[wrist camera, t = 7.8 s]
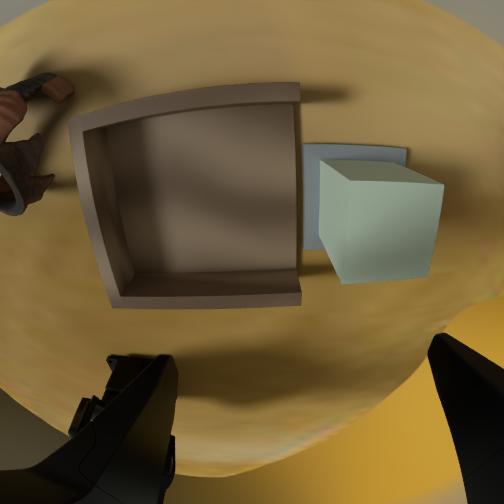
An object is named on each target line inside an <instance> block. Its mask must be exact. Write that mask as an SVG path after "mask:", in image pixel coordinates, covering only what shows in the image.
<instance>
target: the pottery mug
mask: <svg viewBox="0 0 504 504" xmlns="http://www.w3.org/2000/svg"><path fill="white" fill-rule="evenodd" d="M38 91H42V92H43V93H45V94H46V95H47V96H49V97H50V98H51V99H52V100H53V101H54V102H55V103H56V104H60V103H61V102H62V101H63V100H65V98H66V97H67V96H70V95H71V94H73V93H74V88H73V87H72V86H71V84H70V83H69V82H67V81H66V80H65V79H63V78H62V77H60V76H57V75H56V74H52V73H42V74H39V75H37V76H35V77H32V78H29V79H26V80H24V81H20V82H18V83H16V84H14V85H11V86H8V87H7V88H5V89H4V88H1V87H0V173H1V176H0V211H1V212H2V213H5V214H7V215H11V216H17V215H21V214H23V212H24V211H25V210H26V208H27V206H28V204H31V203H34V202H36V201H38V200H41V198H42V196H43V193H44V192H45V190H46V189H47V187H48V186H49V185H50V184H51V182H52V181H53V179H54V177H55V175H54V174H50V175H47V176H31V175H32V174H33V173H34V172H35V170H36V168H37V165H38V161H39V156H40V154H41V152H42V150H43V141H42V137H41V135H40V134H39V133H36V134H35V135H33V136H32V137H31V138H30V139H29V140H21V141H17V142H5V141H6V139H7V137H8V135H9V134H10V132H11V131H12V130H13V129H14V128H15V127H16V126H17V125H18V124H19V123H20V122H21V121H22V120H23V118H24V116H25V114H26V112H27V105H26V103H25V102H26V101H27V100H28V99H29V98H30V97H31V96H32V95H33V94H34V93H36V92H38Z"/></svg>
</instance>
